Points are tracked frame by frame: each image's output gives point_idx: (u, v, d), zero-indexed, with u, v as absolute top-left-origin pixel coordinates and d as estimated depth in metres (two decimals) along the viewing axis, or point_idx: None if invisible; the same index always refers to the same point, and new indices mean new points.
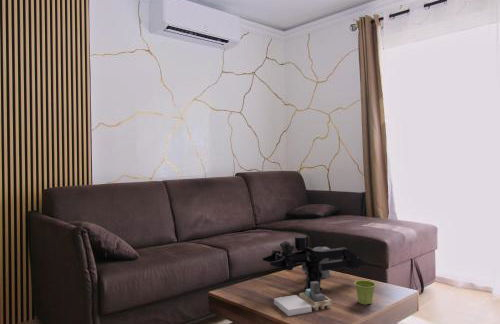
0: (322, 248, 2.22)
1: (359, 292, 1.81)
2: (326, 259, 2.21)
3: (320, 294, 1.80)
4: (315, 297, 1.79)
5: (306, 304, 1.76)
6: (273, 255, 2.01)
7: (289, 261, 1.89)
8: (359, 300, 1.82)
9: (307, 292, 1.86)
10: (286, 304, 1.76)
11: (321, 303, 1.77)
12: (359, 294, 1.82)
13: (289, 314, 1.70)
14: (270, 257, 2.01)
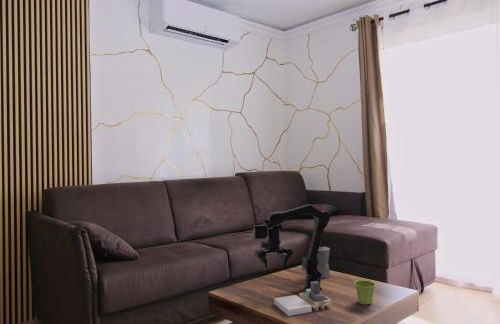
0: (322, 248, 2.22)
1: (359, 292, 1.81)
2: (326, 259, 2.21)
3: (320, 294, 1.80)
4: (315, 297, 1.79)
5: (306, 304, 1.76)
6: (282, 256, 2.02)
7: (255, 255, 1.97)
8: (359, 300, 1.82)
9: (307, 292, 1.86)
10: (286, 304, 1.76)
11: (321, 303, 1.77)
12: (359, 294, 1.82)
13: (289, 314, 1.70)
14: (282, 260, 2.01)
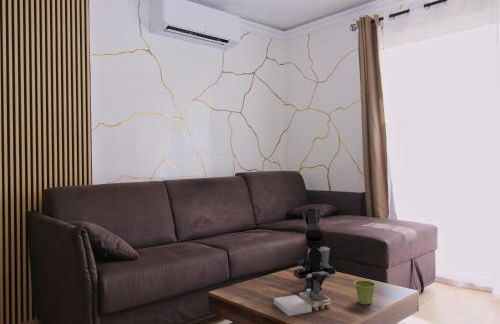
0: (322, 248, 2.22)
1: (359, 292, 1.81)
2: (326, 259, 2.21)
3: (319, 293, 1.81)
4: (314, 296, 1.79)
5: (306, 304, 1.76)
6: (317, 276, 1.85)
7: (294, 275, 1.81)
8: (359, 300, 1.82)
9: (308, 292, 1.85)
10: (286, 304, 1.76)
11: (321, 303, 1.77)
12: (359, 294, 1.82)
13: (289, 314, 1.70)
14: (318, 280, 1.84)
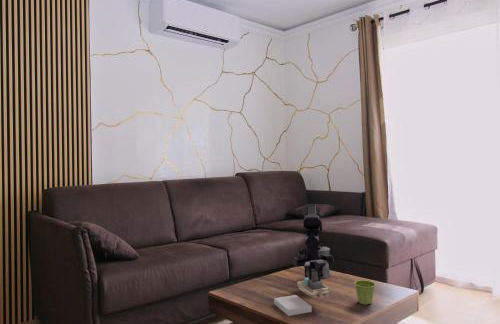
0: (322, 248, 2.22)
1: (359, 292, 1.81)
2: None
3: (318, 282, 1.80)
4: (313, 285, 1.79)
5: (306, 304, 1.76)
6: (315, 264, 1.84)
7: (292, 263, 1.80)
8: (359, 300, 1.82)
9: (306, 281, 1.85)
10: (286, 304, 1.76)
11: (319, 291, 1.76)
12: (359, 294, 1.82)
13: (289, 314, 1.70)
14: (316, 268, 1.84)
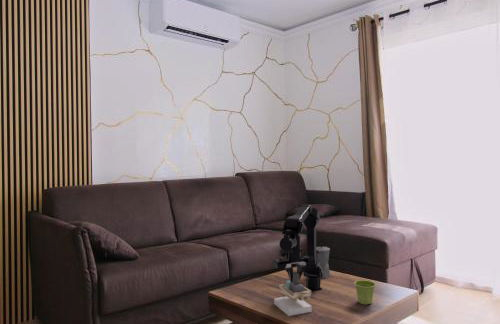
0: (322, 248, 2.22)
1: (359, 292, 1.81)
2: (326, 259, 2.21)
3: (299, 284, 1.77)
4: (294, 287, 1.75)
5: (306, 304, 1.76)
6: (297, 266, 1.81)
7: (274, 265, 1.77)
8: (359, 300, 1.82)
9: (287, 283, 1.81)
10: (286, 304, 1.76)
11: (300, 294, 1.73)
12: (359, 294, 1.82)
13: (289, 314, 1.70)
14: (297, 271, 1.80)
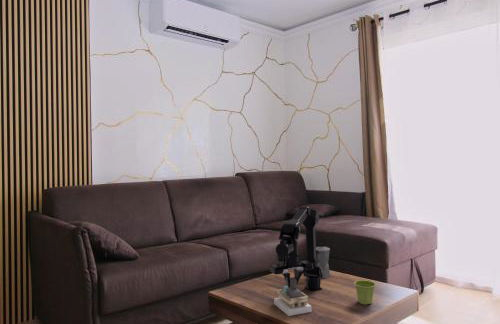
0: (322, 248, 2.22)
1: (359, 292, 1.81)
2: (326, 259, 2.21)
3: (296, 290, 1.77)
4: (291, 293, 1.75)
5: None
6: (294, 271, 1.81)
7: (271, 270, 1.77)
8: (359, 300, 1.82)
9: (285, 289, 1.81)
10: (286, 304, 1.76)
11: (297, 300, 1.73)
12: (359, 294, 1.82)
13: (289, 314, 1.70)
14: (295, 276, 1.80)
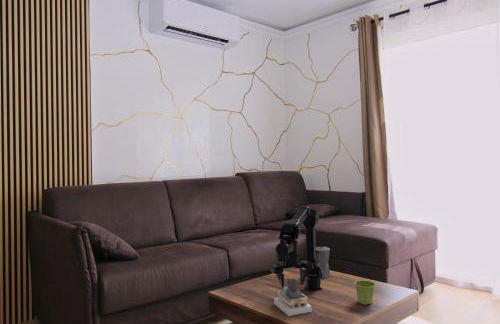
0: (322, 248, 2.22)
1: (359, 292, 1.81)
2: (326, 259, 2.21)
3: (296, 291, 1.77)
4: (291, 294, 1.75)
5: None
6: (300, 270, 1.82)
7: (271, 270, 1.77)
8: (359, 300, 1.82)
9: (285, 290, 1.81)
10: None
11: (297, 301, 1.73)
12: (359, 294, 1.82)
13: (289, 314, 1.70)
14: (301, 275, 1.81)
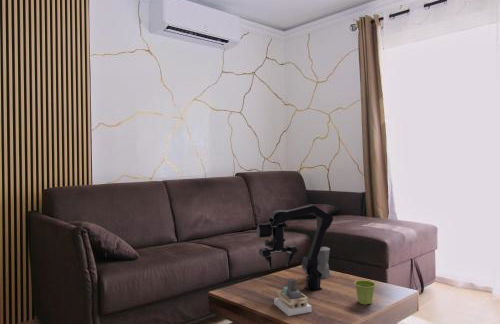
0: (322, 248, 2.22)
1: (359, 292, 1.81)
2: (326, 259, 2.21)
3: (296, 291, 1.77)
4: (291, 294, 1.75)
5: None
6: (286, 254, 2.02)
7: (259, 253, 1.97)
8: (359, 300, 1.82)
9: (285, 290, 1.81)
10: None
11: (297, 301, 1.73)
12: (359, 294, 1.82)
13: (289, 314, 1.70)
14: (287, 258, 2.01)
